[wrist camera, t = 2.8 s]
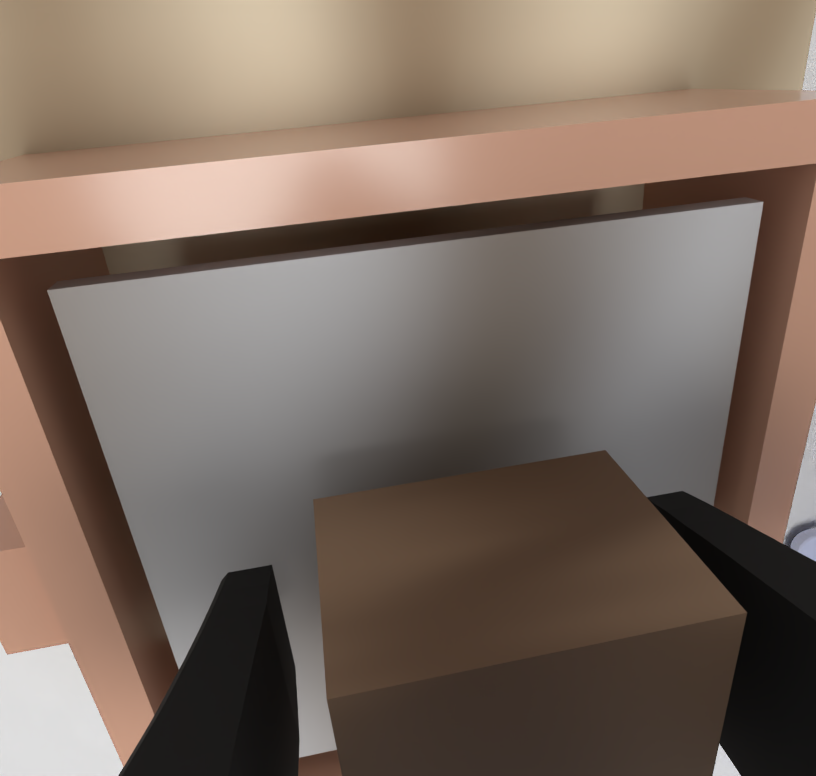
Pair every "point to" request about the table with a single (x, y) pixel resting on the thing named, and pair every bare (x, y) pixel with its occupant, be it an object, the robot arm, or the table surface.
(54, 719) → the table surface
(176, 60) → the light wood rectangular frame
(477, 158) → the shallow wooden crate
